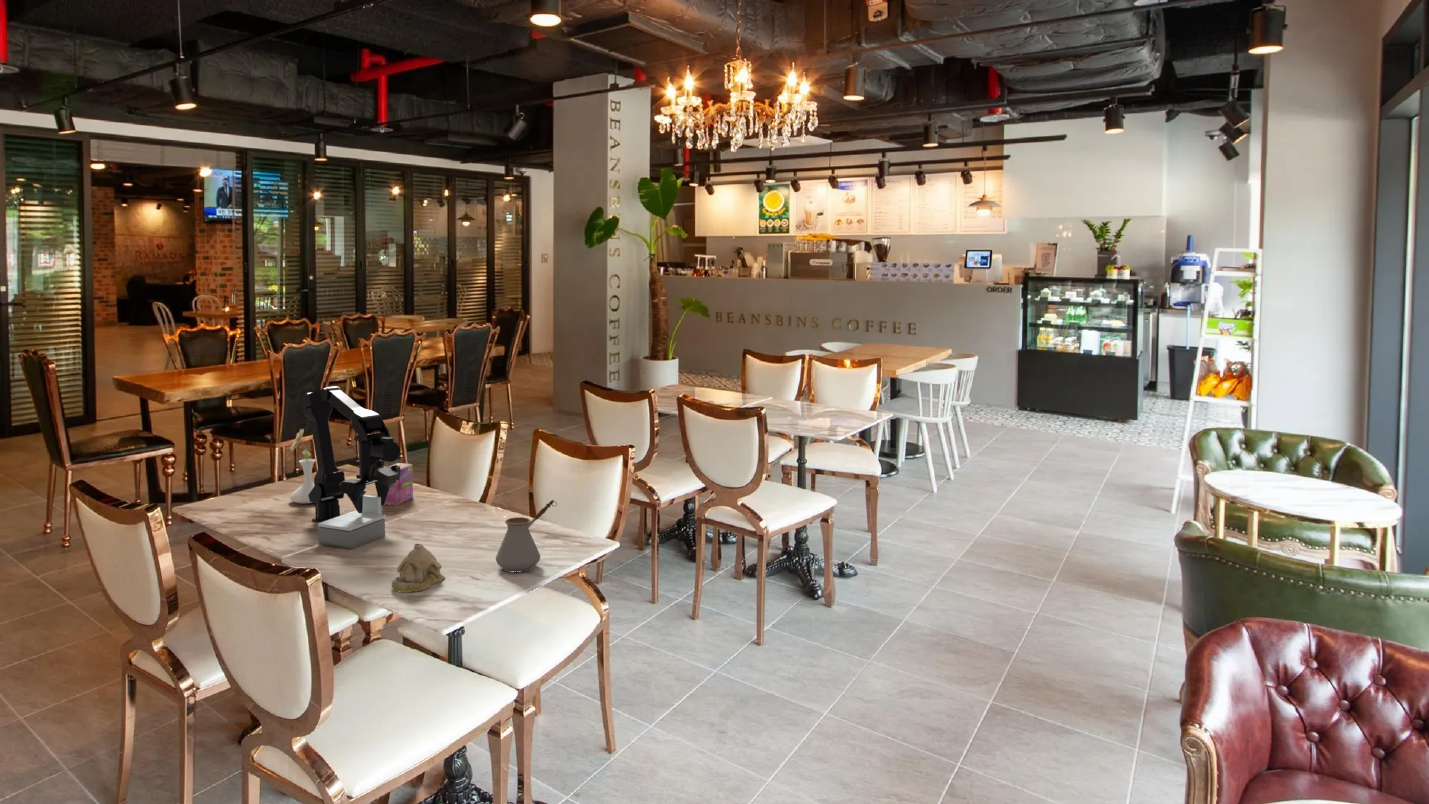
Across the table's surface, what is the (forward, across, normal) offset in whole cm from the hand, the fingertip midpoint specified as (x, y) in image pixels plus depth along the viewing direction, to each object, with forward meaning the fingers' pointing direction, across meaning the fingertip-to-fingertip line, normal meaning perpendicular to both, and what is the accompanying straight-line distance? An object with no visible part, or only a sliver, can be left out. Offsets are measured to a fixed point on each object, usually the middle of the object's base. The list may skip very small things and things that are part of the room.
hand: (371, 509), depth 257 cm
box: (+7, +31, +16) cm, 36 cm away
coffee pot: (+7, -4, -56) cm, 57 cm away
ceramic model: (+7, -29, -38) cm, 49 cm away
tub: (+7, -8, 0) cm, 11 cm away
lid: (+2, -7, 0) cm, 7 cm away
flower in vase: (+7, +18, +41) cm, 45 cm away
